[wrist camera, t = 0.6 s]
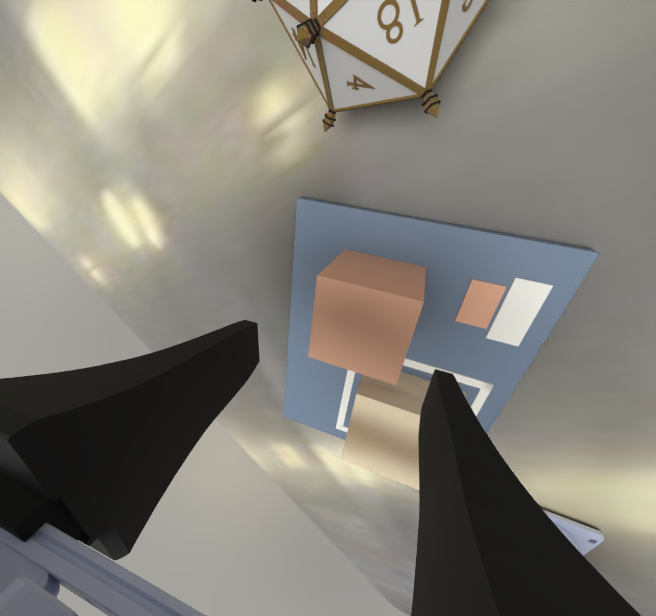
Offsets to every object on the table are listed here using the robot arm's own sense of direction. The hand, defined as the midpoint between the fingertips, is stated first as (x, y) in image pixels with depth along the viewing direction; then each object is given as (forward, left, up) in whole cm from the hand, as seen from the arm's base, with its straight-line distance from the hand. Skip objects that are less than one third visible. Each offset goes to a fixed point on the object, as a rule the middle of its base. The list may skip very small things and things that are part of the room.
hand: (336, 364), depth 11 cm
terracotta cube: (0, 0, -8) cm, 8 cm away
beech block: (-9, -4, -8) cm, 13 cm away
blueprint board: (-5, -2, -9) cm, 11 cm away
